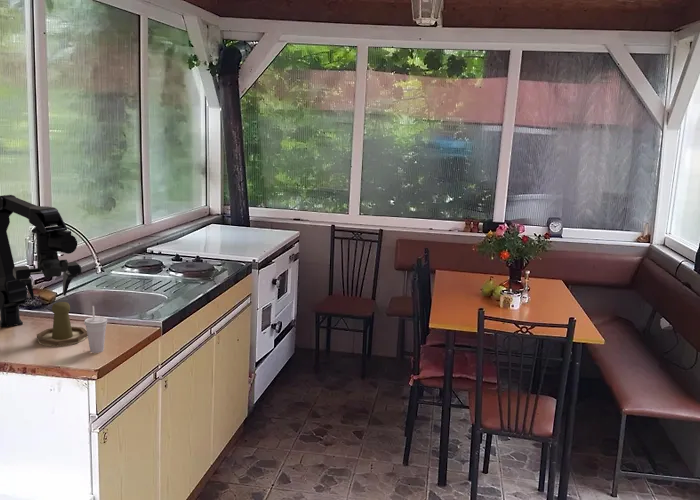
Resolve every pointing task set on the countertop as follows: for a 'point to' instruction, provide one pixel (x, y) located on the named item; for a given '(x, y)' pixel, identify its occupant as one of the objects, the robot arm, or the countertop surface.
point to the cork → (61, 321)
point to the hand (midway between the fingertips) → (48, 296)
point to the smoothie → (96, 332)
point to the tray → (47, 340)
